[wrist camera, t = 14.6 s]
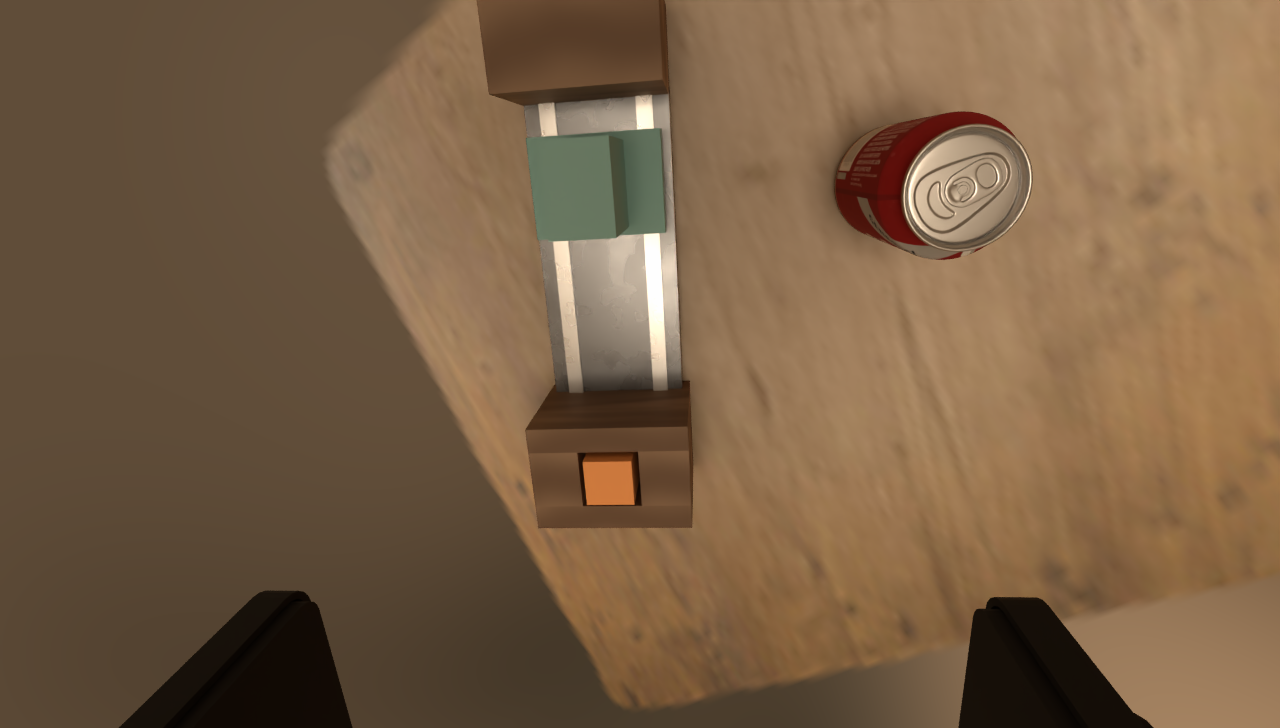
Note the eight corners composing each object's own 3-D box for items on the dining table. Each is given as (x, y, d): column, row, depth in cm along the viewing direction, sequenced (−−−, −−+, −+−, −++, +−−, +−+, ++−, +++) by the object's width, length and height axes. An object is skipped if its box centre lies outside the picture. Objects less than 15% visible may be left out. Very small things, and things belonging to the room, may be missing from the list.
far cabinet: (554, 384, 45) (525, 429, 37) (689, 380, 43) (687, 426, 36) (564, 469, 47) (538, 528, 39) (693, 467, 46) (692, 527, 38)
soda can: (813, 164, 38) (862, 165, 27) (914, 102, 36) (1012, 74, 25) (861, 255, 40) (926, 292, 28) (960, 199, 38) (1072, 214, 27)
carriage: (532, 138, 37) (493, 133, 30) (661, 129, 36) (652, 120, 29) (543, 237, 39) (509, 253, 32) (666, 230, 38) (659, 245, 31)
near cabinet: (520, 20, 37) (474, -17, 30) (665, 6, 36) (656, -36, 29) (529, 107, 39) (489, 94, 31) (669, 96, 38) (662, 79, 30)
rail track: (526, 73, 38) (518, 69, 36) (668, 61, 37) (666, 56, 35) (561, 384, 44) (555, 393, 43) (682, 381, 44) (682, 389, 42)
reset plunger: (602, 411, 44) (582, 462, 37) (642, 410, 44) (631, 461, 36) (605, 448, 45) (587, 504, 38) (645, 447, 45) (634, 504, 37)
